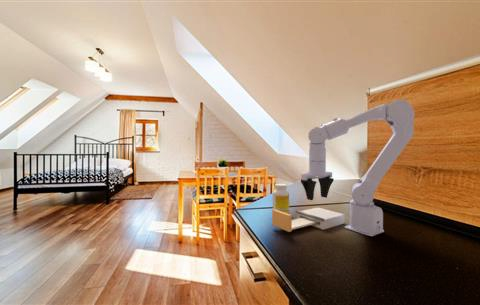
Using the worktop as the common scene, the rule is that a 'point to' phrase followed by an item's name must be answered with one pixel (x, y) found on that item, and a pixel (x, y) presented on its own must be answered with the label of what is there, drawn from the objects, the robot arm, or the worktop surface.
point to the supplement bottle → (281, 198)
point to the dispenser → (322, 217)
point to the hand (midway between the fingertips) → (317, 198)
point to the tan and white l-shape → (289, 221)
